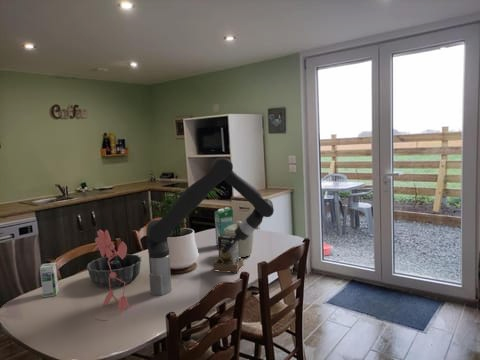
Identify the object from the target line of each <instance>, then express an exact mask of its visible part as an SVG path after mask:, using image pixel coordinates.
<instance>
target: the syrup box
mask: <svg viewBox="0 0 480 360" xmlns="http://www.w3.org/2000/svg"><path fill="white" fill-rule="evenodd" d="M39 271H40V274H39V275H40V280H41V281H40V282H41V289H42V298H48V297H56V296H57V295H58V293H59V284H58V274H57V273H58V272H57V263H56V262H50V263H42V264H41V265H40V266H39Z"/></svg>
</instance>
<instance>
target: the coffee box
mask: <svg viewBox="0 0 480 360" xmlns="http://www.w3.org/2000/svg"><path fill="white" fill-rule="evenodd" d="M233 236H234V235H226V234H223V235H221V236H219V237H218V246H217V248H218V259H219V263H224V264H237V263H238V262H239V257H238V243H236V244H235V243H234V244H235V245H234V246H233V245H232V247H231V248H230V249H228V250H227V251H226V253H223V252H222V249H223V248H224V247H225V245H227V244H228V243H229V242H230V240H231V239H233V238H232V237H233ZM228 246H229V247H230V245H229V244H228Z"/></svg>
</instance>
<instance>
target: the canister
mask: <svg viewBox="0 0 480 360" xmlns="http://www.w3.org/2000/svg"><path fill="white" fill-rule="evenodd" d="M242 222H243V221H241V220H237V221H236V222H235V224H234V223H233V225H230V226H228V227H226V228H225V229H224V231H225V233H226V235H235V229H236V228H237V227H238V226H239V225H240V224H241V223H242ZM254 232H255V230H254V231H253V233H252V234H251V235H250V236H249V237H248V238H247V239H246V240H240V241H239V242H238V257H246V256H248V257H250V256H251V255H252V253H253V244H254V243H253V242H254ZM250 254H251V255H250ZM249 255H250V256H249ZM246 258H247V257H246Z"/></svg>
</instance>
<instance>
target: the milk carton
mask: <svg viewBox="0 0 480 360" xmlns="http://www.w3.org/2000/svg"><path fill="white" fill-rule="evenodd" d="M233 210H234V209H233V208H231V207H228V206H226V207H223V208H219V209H218V210H216V211H214V223H215V225H214V227H215V228H214V229H215V244H217V245H218V237H219V236H221V235H223V234H226V233H225V231H224V229H225V228H226V227H228V226H230V225H234V212H233Z"/></svg>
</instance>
